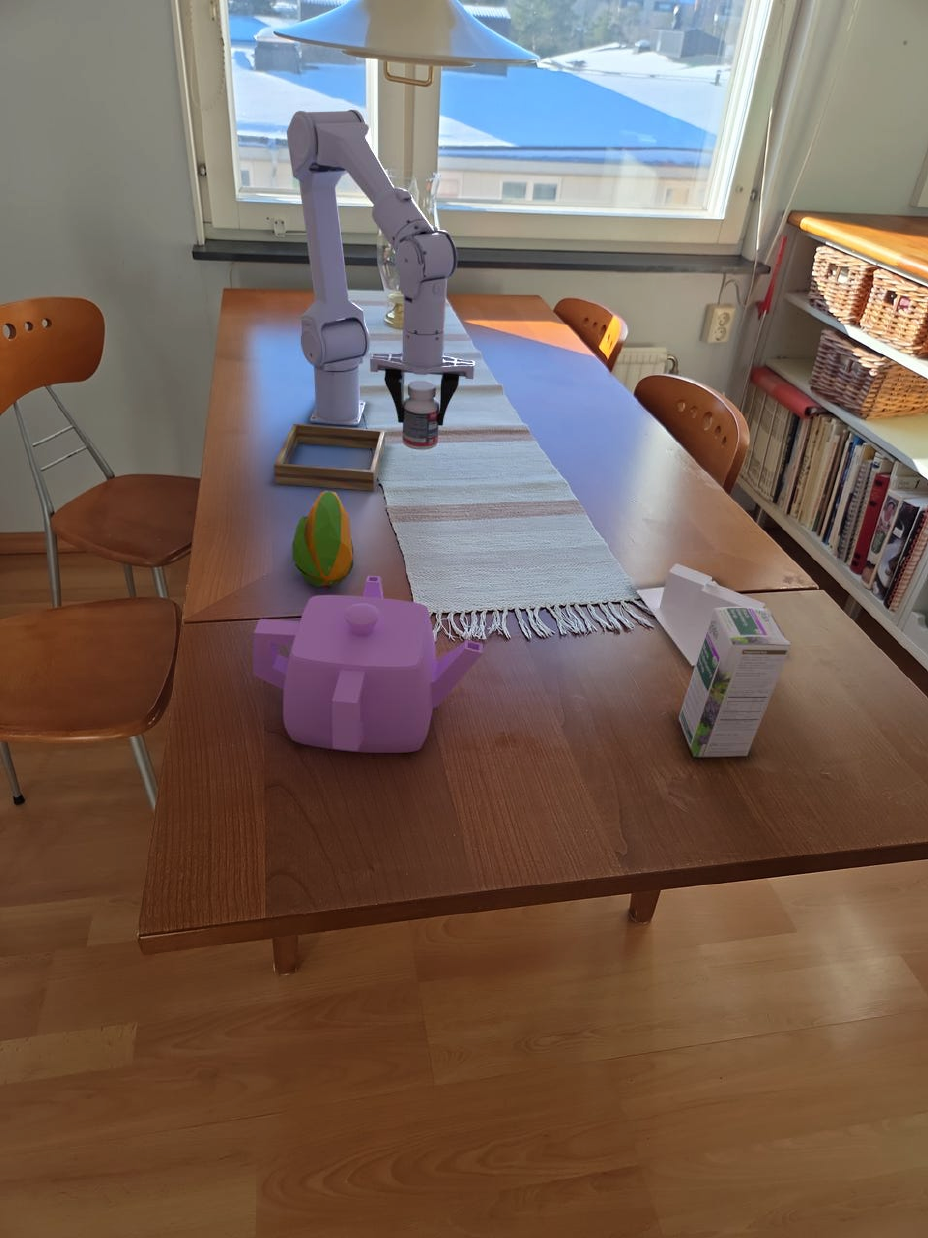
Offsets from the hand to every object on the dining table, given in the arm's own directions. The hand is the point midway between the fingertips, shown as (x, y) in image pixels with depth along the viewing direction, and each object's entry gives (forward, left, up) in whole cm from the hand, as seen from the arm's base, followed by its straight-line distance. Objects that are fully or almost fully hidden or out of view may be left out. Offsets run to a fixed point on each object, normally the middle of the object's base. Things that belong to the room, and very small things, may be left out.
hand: (420, 421), depth 123 cm
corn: (+26, -10, -8) cm, 29 cm away
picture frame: (+1, -13, -8) cm, 15 cm away
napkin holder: (+34, +37, -8) cm, 51 cm away
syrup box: (+54, +34, -8) cm, 64 cm away
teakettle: (+53, -1, -8) cm, 54 cm away
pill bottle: (0, 0, -4) cm, 4 cm away
